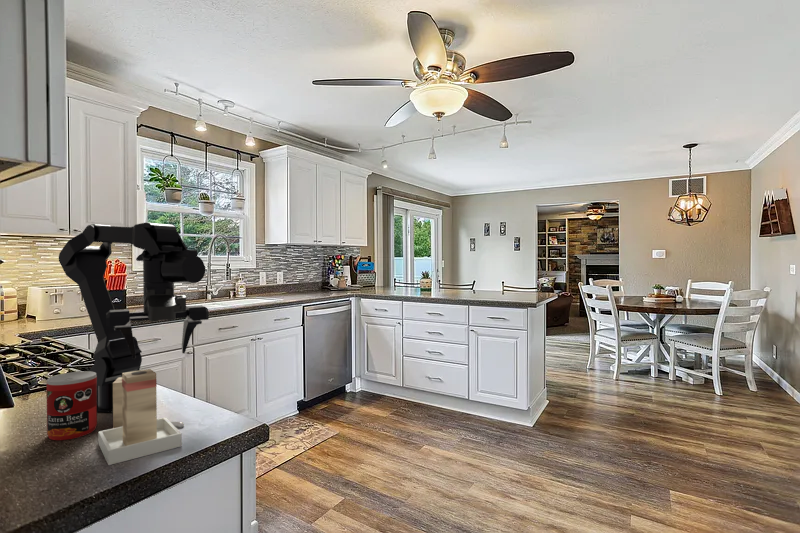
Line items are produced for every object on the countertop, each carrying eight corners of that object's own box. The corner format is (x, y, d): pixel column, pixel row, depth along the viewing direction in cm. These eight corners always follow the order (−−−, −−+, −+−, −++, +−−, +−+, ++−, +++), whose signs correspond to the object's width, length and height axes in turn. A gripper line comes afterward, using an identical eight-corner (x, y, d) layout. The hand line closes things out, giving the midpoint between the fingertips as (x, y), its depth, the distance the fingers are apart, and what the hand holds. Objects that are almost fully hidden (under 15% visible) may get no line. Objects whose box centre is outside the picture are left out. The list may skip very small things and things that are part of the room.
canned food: (38, 443, 80) (37, 383, 80) (59, 427, 87) (59, 372, 87) (86, 438, 82) (86, 380, 82) (103, 423, 89) (103, 369, 89)
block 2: (122, 442, 79) (122, 372, 79) (150, 435, 82) (150, 368, 82) (127, 450, 75) (127, 377, 75) (157, 442, 78) (156, 373, 78)
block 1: (118, 420, 91) (118, 377, 91) (143, 417, 93) (143, 375, 93) (113, 428, 87) (112, 382, 87) (139, 425, 88) (138, 380, 88)
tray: (98, 444, 79) (98, 431, 79) (165, 428, 86) (165, 417, 86) (108, 465, 71) (108, 451, 71) (181, 446, 78) (181, 433, 78)
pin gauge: (141, 427, 88) (141, 421, 88) (145, 425, 89) (145, 419, 89) (181, 429, 87) (181, 423, 87) (185, 427, 88) (185, 421, 88)
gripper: (105, 285, 81) (106, 369, 81) (213, 282, 91) (213, 357, 92) (106, 283, 90) (106, 358, 91) (203, 280, 101) (204, 348, 101)
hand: (159, 355), depth 93 cm, fingers open, 9 cm apart
